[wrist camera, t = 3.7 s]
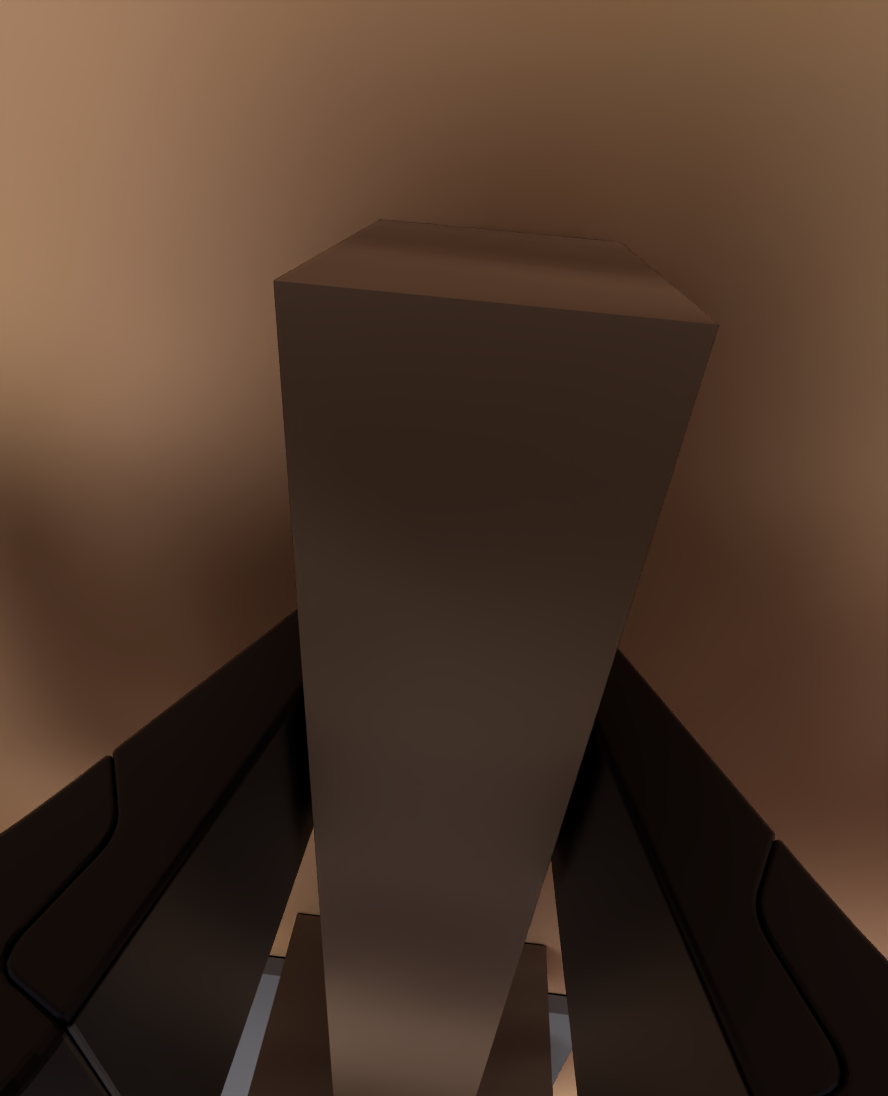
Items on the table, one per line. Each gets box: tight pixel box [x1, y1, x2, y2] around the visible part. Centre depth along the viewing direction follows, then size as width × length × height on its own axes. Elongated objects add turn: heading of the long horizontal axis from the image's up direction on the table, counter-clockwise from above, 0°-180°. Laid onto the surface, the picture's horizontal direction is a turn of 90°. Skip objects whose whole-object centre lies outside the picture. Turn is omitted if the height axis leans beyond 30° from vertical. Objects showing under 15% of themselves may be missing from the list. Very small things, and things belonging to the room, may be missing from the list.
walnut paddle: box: [248, 219, 719, 1096], centre depth 9 cm, size 16×6×5 cm, turn 176°
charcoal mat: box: [221, 957, 572, 1096], centre depth 19 cm, size 11×11×1 cm
